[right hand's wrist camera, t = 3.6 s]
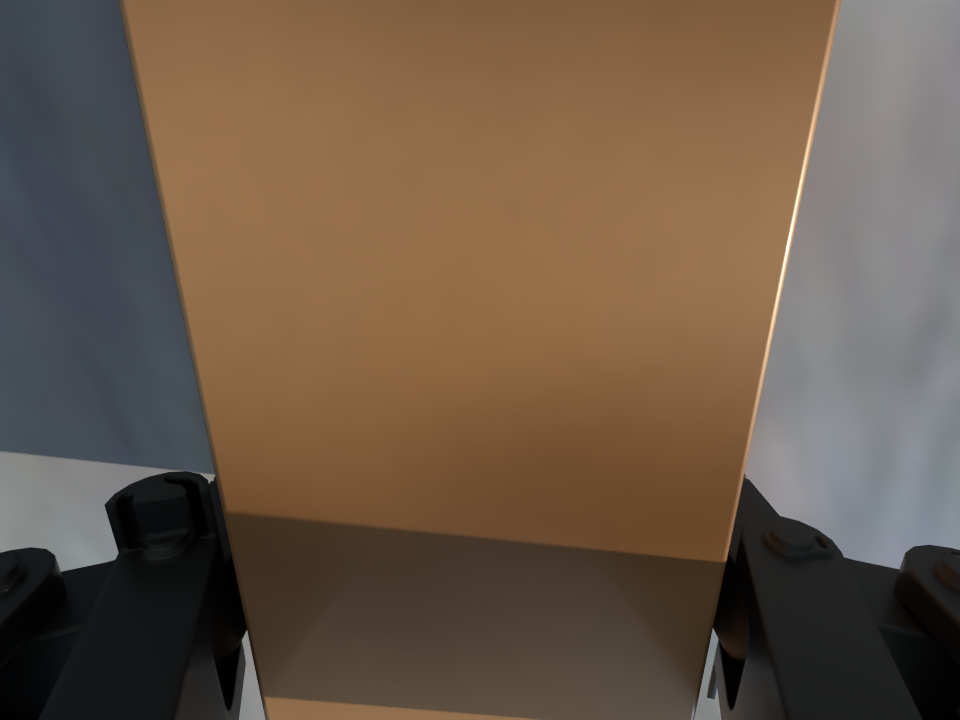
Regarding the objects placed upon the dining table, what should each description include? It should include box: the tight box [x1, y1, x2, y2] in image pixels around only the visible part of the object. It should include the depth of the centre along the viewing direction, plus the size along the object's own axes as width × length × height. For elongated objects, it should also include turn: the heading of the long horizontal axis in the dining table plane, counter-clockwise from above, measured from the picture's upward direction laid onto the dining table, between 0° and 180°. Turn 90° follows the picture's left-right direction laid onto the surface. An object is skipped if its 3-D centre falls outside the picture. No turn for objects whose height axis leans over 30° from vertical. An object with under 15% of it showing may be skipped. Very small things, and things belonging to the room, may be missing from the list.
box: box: [118, 0, 841, 720], centre depth 8 cm, size 21×6×8 cm, turn 0°
